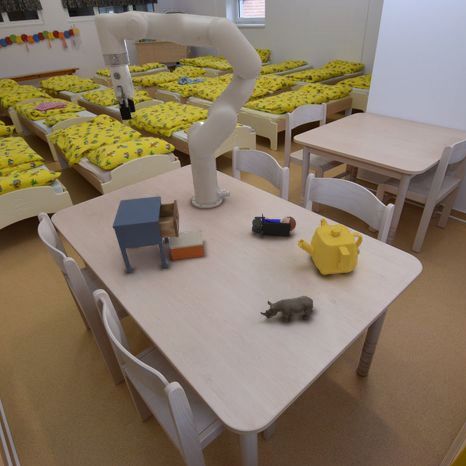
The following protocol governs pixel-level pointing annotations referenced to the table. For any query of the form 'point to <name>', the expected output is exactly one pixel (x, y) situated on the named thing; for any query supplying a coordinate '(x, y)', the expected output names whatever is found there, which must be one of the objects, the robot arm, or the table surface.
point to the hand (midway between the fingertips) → (129, 115)
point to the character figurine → (273, 226)
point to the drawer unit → (139, 226)
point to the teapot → (333, 248)
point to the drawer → (169, 220)
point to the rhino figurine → (290, 307)
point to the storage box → (187, 245)
